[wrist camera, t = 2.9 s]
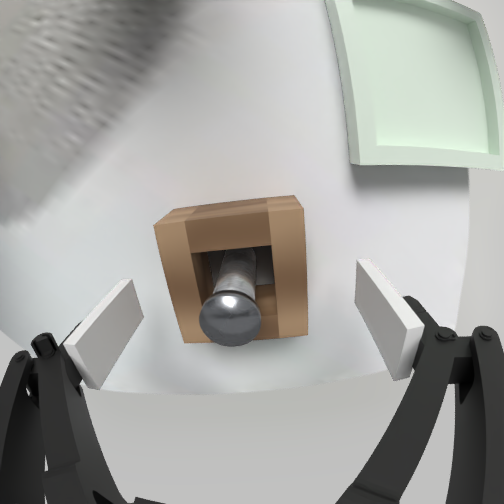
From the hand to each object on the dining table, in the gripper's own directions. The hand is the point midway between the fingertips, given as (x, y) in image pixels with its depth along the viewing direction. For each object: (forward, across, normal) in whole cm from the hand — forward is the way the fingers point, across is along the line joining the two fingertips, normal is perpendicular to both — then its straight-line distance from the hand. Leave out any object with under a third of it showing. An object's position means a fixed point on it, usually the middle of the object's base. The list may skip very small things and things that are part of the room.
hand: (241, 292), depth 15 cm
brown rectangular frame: (+4, 0, 0) cm, 4 cm away
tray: (+4, +15, +13) cm, 20 cm away
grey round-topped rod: (+4, 0, 0) cm, 4 cm away
